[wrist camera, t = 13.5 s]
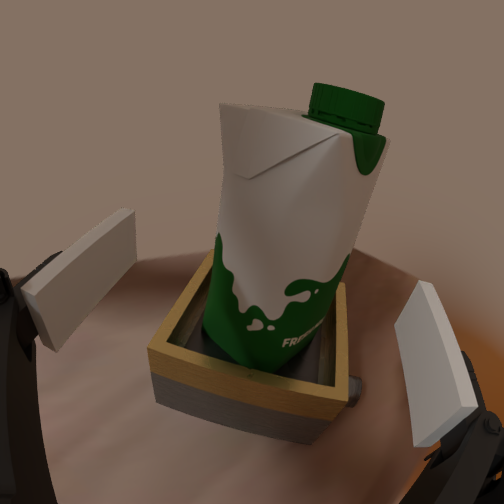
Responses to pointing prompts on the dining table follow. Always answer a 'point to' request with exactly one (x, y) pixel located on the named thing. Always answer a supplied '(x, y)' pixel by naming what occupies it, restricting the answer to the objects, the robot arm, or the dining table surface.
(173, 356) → the open square tray
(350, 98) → the soya milk
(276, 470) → the dining table surface
